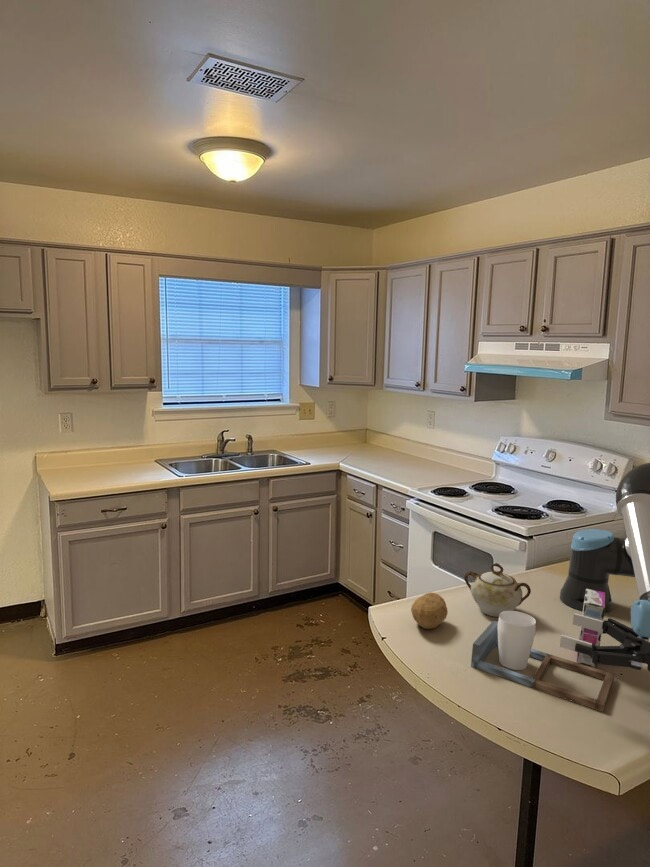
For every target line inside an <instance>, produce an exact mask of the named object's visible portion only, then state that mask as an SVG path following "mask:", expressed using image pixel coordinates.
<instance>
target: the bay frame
mask: <svg viewBox="0 0 650 867" xmlns="http://www.w3.org/2000/svg"><path fill="white" fill-rule="evenodd" d="M497 625H498V620H497V621H496V620H492V621H491V623H490V624H489V625H488V626H487V627H486V628H485V630H484V631H483V632H482V633H481V634H480V635H479V636H478V637H477V639H475V641H474V642H473V643H472V650H471V651H472V652H471V660H470V667H471V668H475V669H477V670H480V671H483V672H486V673H489V674H491V675H494V676H497V677H500V678H504V679H507V680H510V681H512V682H514V683H518V684H521V685H523V686H526V687H529V688H532V689H534V690H538V691H541V692H544V693H547V694H550V695H552V694H553V695H552V696H555V695H556V696H555V697H558V696H559V698H561V697H562V699H564V698H566V699H565V700H567V699H568V700H567V701H570V700H572V701H574V702H573V703H575V702H577V703H576V704H578V703H579V704H578V705H581V704H583V705H582V706H584V705H585V707H587V706H588V707H587V708H590V707H591V708H590V709H593V708H594V710H596V709H597V710H596V711H598V710H600V711H599V712H601V711H602V713H603V712H604V710H605V707H604V706H606V704H607V701H606V700H608V698H609V694H610V691H611V688H612V686H613V683H614V680H615V679H614V678H615V674H614V673H612V672H608V671H605V670H601V669H599V668H593V667H589V666H586V665H583V664H579V663H577V661H572V660H569V659H567V658H564V657H559V656H557V655H553V654H549V653H547V652H543V651H541V650H537V649H534V648H531V652H530V656H529V658H530V657H531V658H532V659H536V660H539V661H541V664H540V665H539V667H538V669H537V670H536V671H535V674H534V675H533V676H532V677H531V676H528V675H526V674H522V673H520V672H516V671H515V670H514V671H513V670H512V669H509V668H506V667H502V666H498V665H495V664H493V663H489V662H486V661H484V660H485V659H486V658H487V657H488V656H489V655H490V653H491V652H492V650H494V648H495V647H498V629H497ZM550 664H552V665H555V666H558V667H561V668H565V669H567V670H571V671H574V672H577V673H580V674H583V675H585V676H589V677H592V678H596V679H599V680H602V681H603V682H602V685H601V687H600V690H599V692H598V695H597V698H593V697H590V696H587V695H585V694H581V693H578V692H576V691H572V690H569V689H567V688H564V687H562V686H561V687H560V686H558V685H554V684H552V683H549V682H546V681H542V678H543V676H544V675H545V673H546V671H547V669H548V668H549V666H550ZM572 701H571V702H572ZM605 703H606V704H605ZM603 709H604V710H603Z"/></svg>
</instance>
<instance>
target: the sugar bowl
mask: <svg viewBox="0 0 650 867" xmlns="http://www.w3.org/2000/svg"><path fill="white" fill-rule="evenodd" d="M494 567H497V568H498V569H499V570H495V569H494ZM490 569H491V570H490V571H488V572H483V573H480V574H479V573H477V572H474V571H467V572H466V573H465V575H464V582H465V585H467V586H468V588H469V590H470V593H471V596H472V598H473V600H474V602H475V603H476V605H477V607H478V608H479V610H480V611H481V613H483V614H484V615H487V616H489V617H490V616H491V617H496V618H499V614H500V613H501V612H503V611H515V609H516V608H517V607H519V606H520V605H522V603H523V602H524V601H525V600H527V599H528V598H529V597H530V595H531V593H532V590H531V586H530V585H529V584H528V583H526V582H518V581H517V580H516V579H515V578H514V577H513V576H511V575H509V574H506V573H504V568H503V566H501V564H500V563H497V562H495V563H493V564H491V566H490ZM469 576H472V577H473V579H472V580H473V581H472V583H471V584H470V582H469V580H468V577H469ZM522 587H524V588H526V589H527V590H526V591H527V592H526V594H525V595H524V596H523V590H522V589H523V588H522Z"/></svg>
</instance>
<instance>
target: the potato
mask: <svg viewBox="0 0 650 867" xmlns="http://www.w3.org/2000/svg"><path fill="white" fill-rule="evenodd" d="M410 611H411V614H412V618H413V620H414V621H415V622H416V624H417V625H418V626H419V627H421V628H423V629H425V630H429V629H430V630H431V629H435V628H437V627H438V626H439V625H440V624H442V623H443V622H444V621H445V619H447V615H448V612H449V611H448V607H447V604H446V601H445V599H444V598H443V597H442V596H441V595H440V594H438V593H435V592H426V593H425V594H423V595H421V596H420V597H418V598H417V599H415V600H414V602H413V604H411V608H410Z"/></svg>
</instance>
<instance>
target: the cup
mask: <svg viewBox="0 0 650 867" xmlns="http://www.w3.org/2000/svg"><path fill="white" fill-rule="evenodd" d="M497 622H498V625H497V629H498V646H497V647H498V660H499V661H498V662H499V663H500V664H501V665H502V666H503V667H504V668H506V669H508V670H512V671H513V670H514V671H522V670H524V669H526V668H527V667H528V662H529V660H530V657H529V656H530V652H531V649H533V648H532V647H533V644H534V640H535V638H536V637H535V636H536V624H537V623H536V619H535V618H534V617H533V616H532V615H530V614H527V613H526V612H521V611H517V610H513V611H503V612H501V613H500V614H499V617H498V620H497Z"/></svg>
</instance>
